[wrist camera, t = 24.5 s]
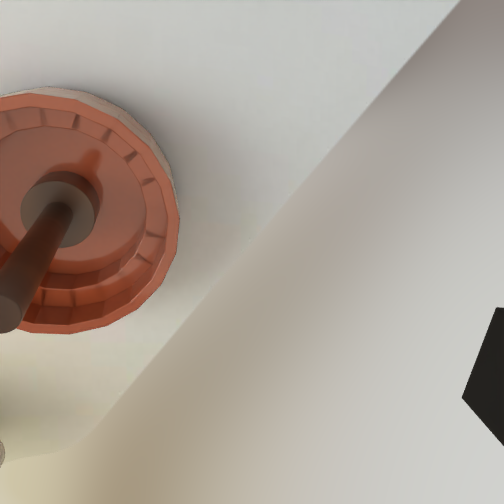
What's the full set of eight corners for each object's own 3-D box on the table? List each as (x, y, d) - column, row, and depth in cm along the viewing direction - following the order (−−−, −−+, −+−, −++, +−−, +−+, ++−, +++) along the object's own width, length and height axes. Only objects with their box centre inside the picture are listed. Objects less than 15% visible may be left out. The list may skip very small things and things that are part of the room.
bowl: (185, 105, 36) (190, 115, 31) (166, 300, 42) (167, 338, 36) (-62, 70, 32) (-106, 73, 27) (-45, 289, 38) (-78, 329, 33)
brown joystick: (100, 174, 36) (58, 267, 21) (98, 236, 38) (57, 363, 23) (30, 167, 35) (-71, 259, 20) (30, 230, 37) (-62, 360, 21)
